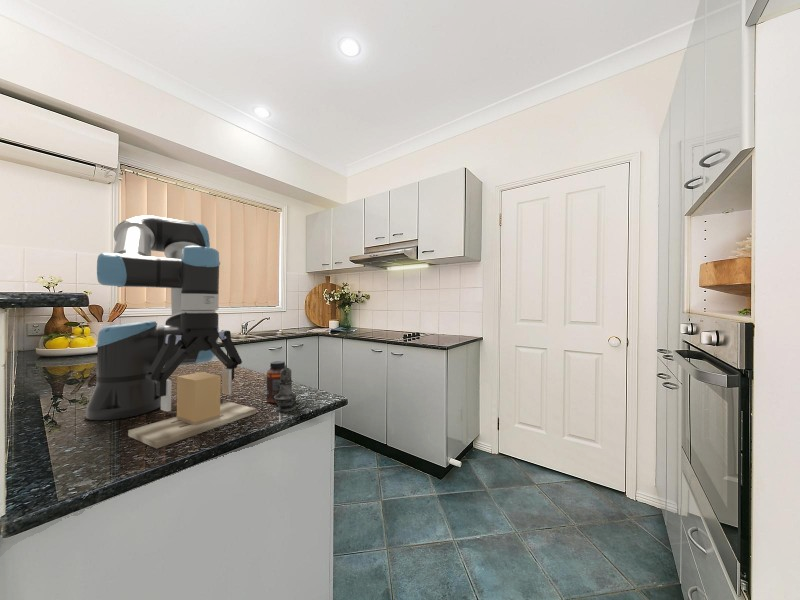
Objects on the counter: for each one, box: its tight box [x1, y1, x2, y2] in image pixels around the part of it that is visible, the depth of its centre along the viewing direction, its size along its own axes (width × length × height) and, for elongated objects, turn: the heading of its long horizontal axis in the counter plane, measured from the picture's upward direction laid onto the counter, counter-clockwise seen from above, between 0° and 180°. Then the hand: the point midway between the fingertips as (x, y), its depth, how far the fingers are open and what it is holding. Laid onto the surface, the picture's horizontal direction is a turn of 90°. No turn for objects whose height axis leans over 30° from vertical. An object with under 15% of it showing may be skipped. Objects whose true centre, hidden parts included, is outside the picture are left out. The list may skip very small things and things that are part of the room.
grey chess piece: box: [274, 364, 298, 413], centre depth 82 cm, size 6×6×12 cm
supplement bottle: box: [265, 360, 286, 404], centre depth 89 cm, size 6×6×11 cm
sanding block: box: [176, 371, 222, 426], centre depth 72 cm, size 8×6×10 cm
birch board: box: [127, 401, 257, 449], centre depth 72 cm, size 12×22×1 cm, turn 152°
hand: (198, 401), depth 72 cm, fingers open, 13 cm apart
